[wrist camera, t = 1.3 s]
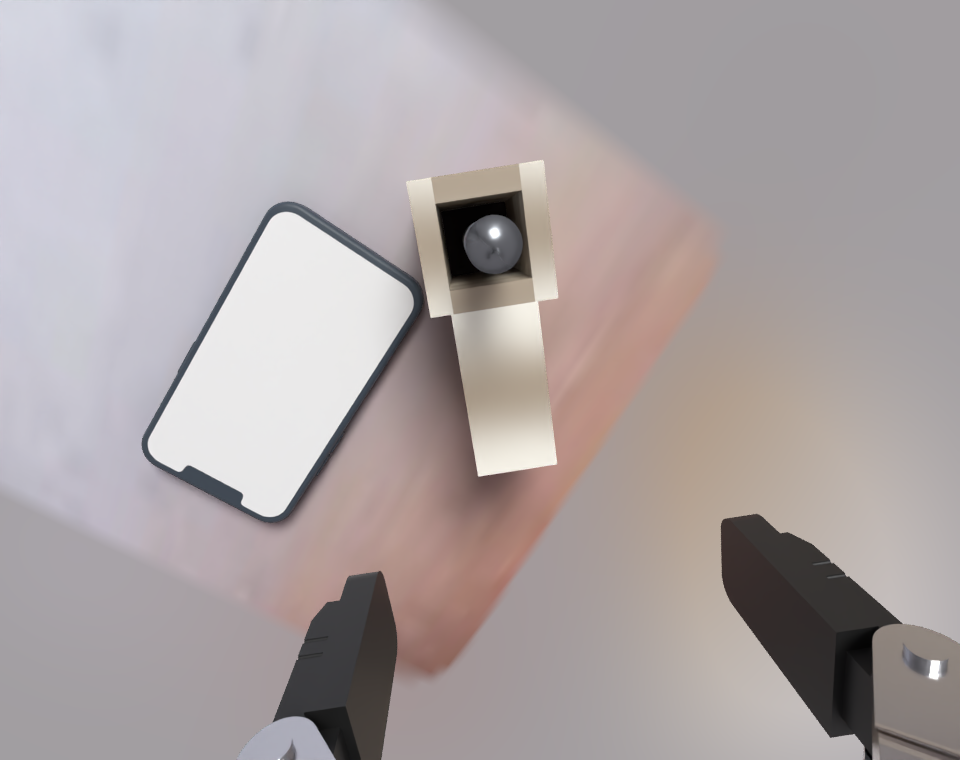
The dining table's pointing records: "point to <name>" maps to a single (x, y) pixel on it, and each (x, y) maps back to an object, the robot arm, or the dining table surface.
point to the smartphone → (282, 363)
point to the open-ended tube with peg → (495, 312)
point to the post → (493, 244)
